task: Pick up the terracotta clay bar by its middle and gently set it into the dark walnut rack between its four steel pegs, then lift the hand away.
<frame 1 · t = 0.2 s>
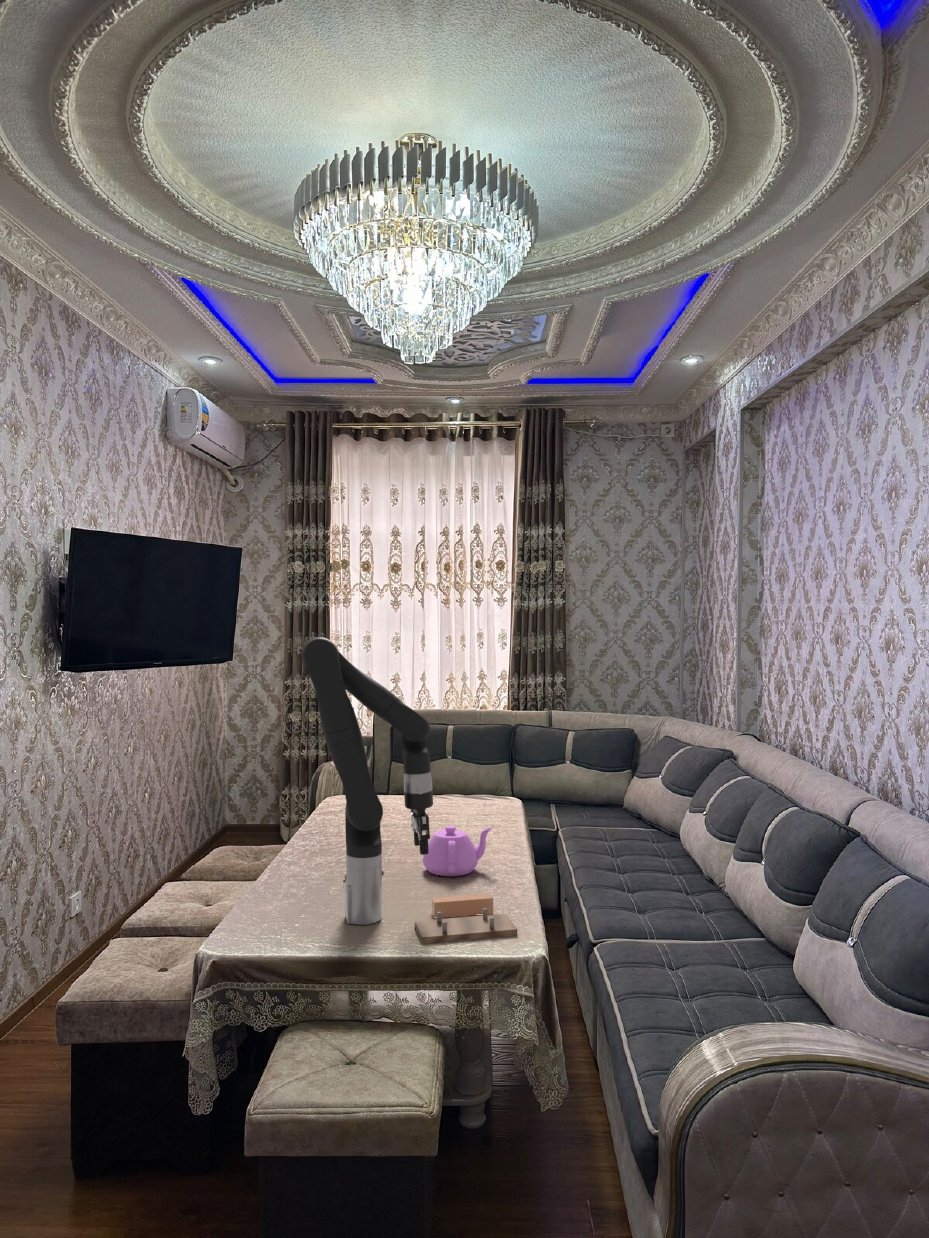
hand: (421, 849, 224), 17 cm above the table, tool pointing down, fingers open, 8 cm apart
wooden fragment: (364, 877, 257), on the table
rack: (465, 930, 213), on the table
clay strip: (462, 914, 225), on the table
teapot: (457, 871, 263), on the table
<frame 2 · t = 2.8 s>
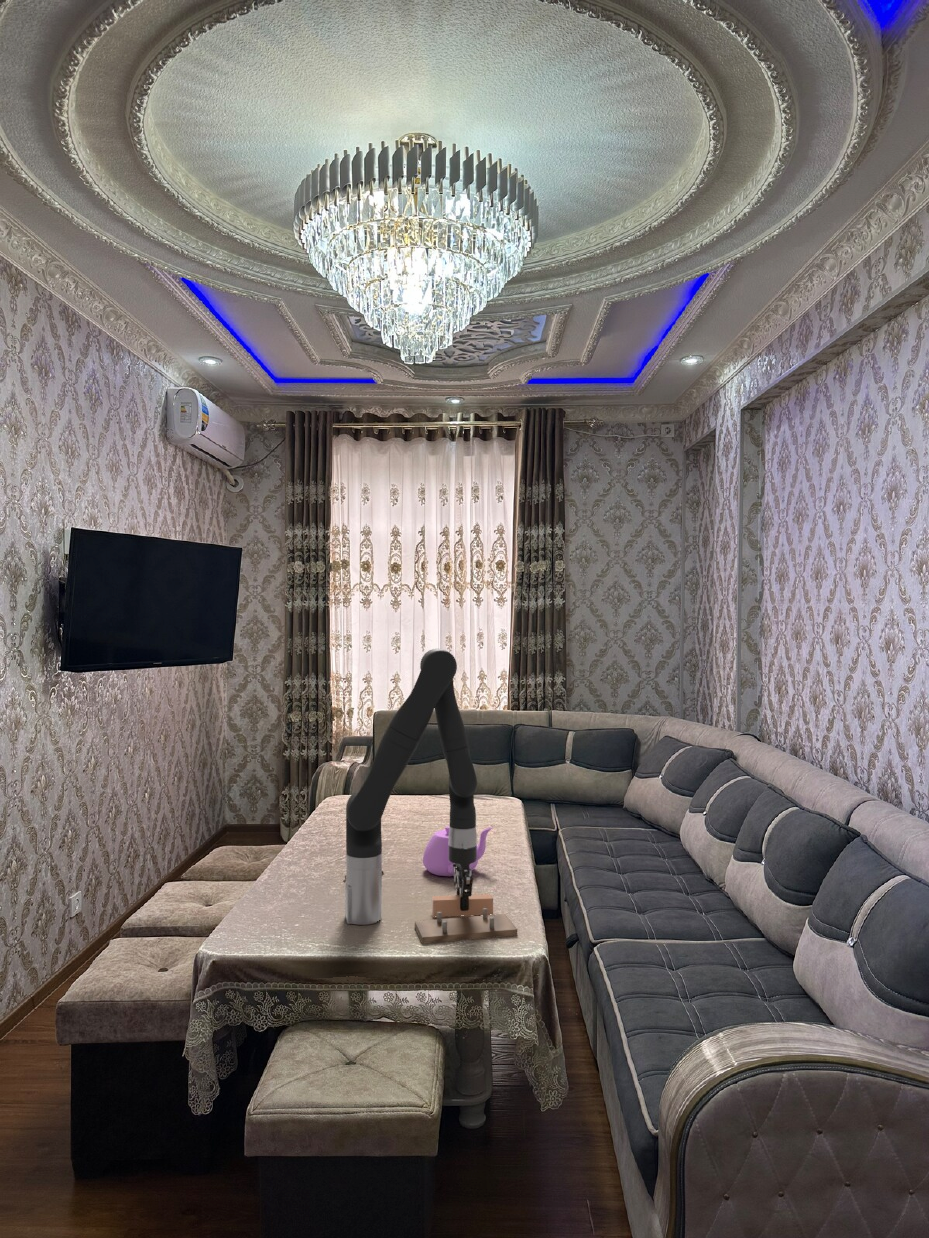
hand: (462, 907, 225), 2 cm above the table, tool pointing down, fingers closed on clay strip, 3 cm apart
clay strip: (462, 913, 225), on the table, touching gripper
everything else where it was.
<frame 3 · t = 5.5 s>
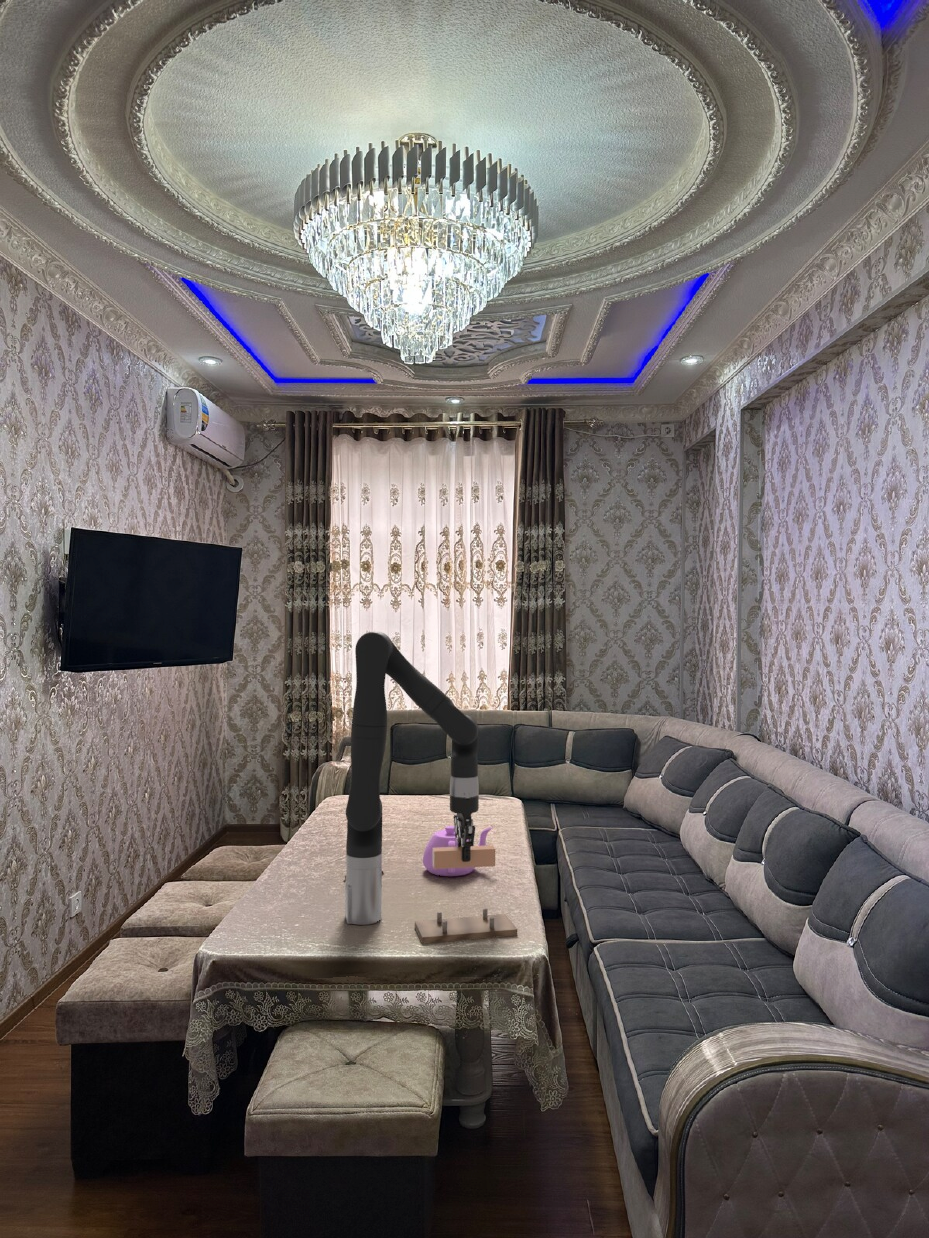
hand: (464, 858, 220), 16 cm above the table, tool pointing down, fingers closed on clay strip, 3 cm apart
clay strip: (463, 865, 220), point 14 cm above the table, touching gripper
everything else where it was.
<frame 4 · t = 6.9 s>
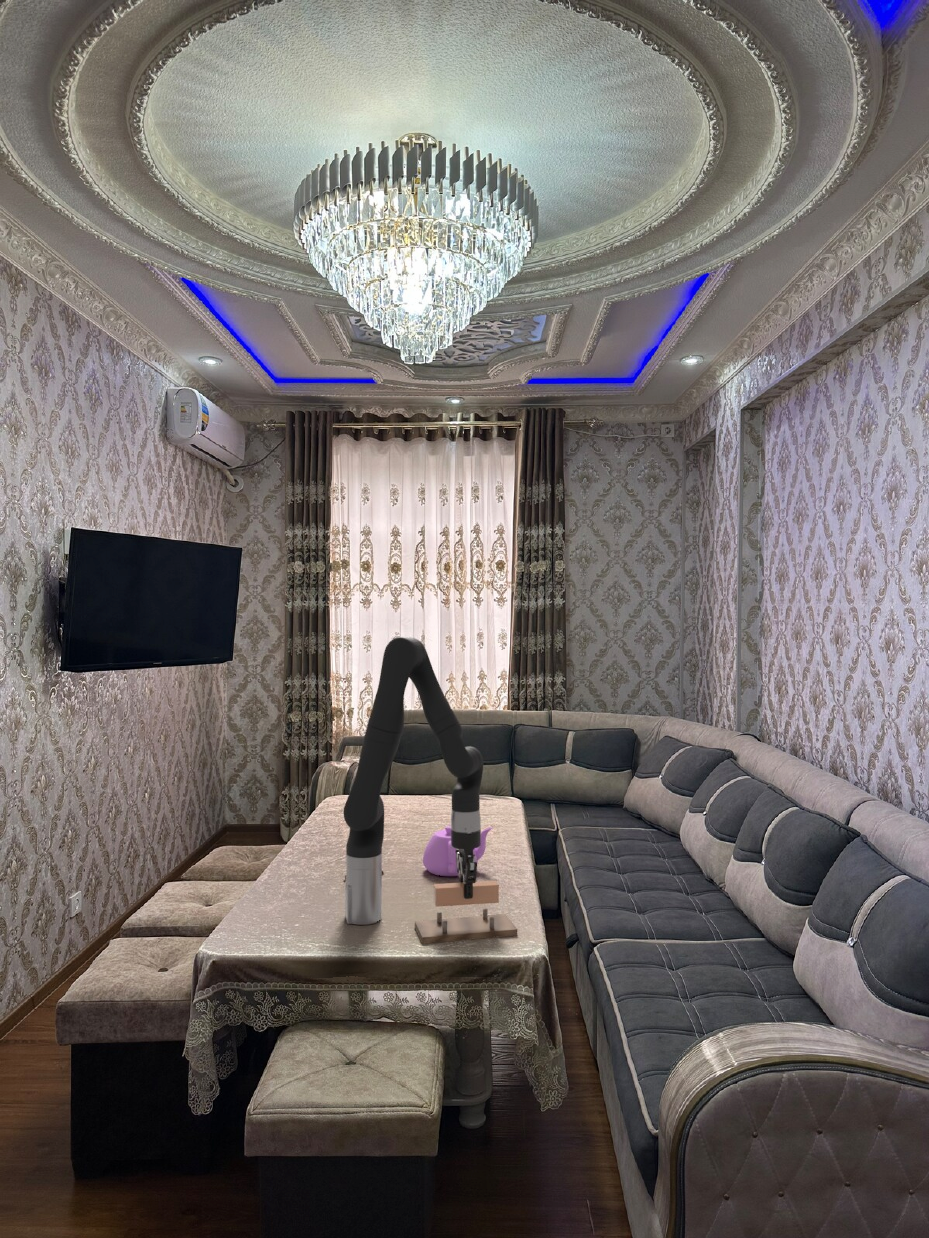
hand: (466, 895, 213), 9 cm above the table, tool pointing down, fingers closed on clay strip, 3 cm apart
clay strip: (466, 902, 213), point 7 cm above the table, touching gripper
everything else where it was.
when the fingers open (5 cm above the table, at t = 8.1 s): clay strip drops 1 cm, resting on rack.
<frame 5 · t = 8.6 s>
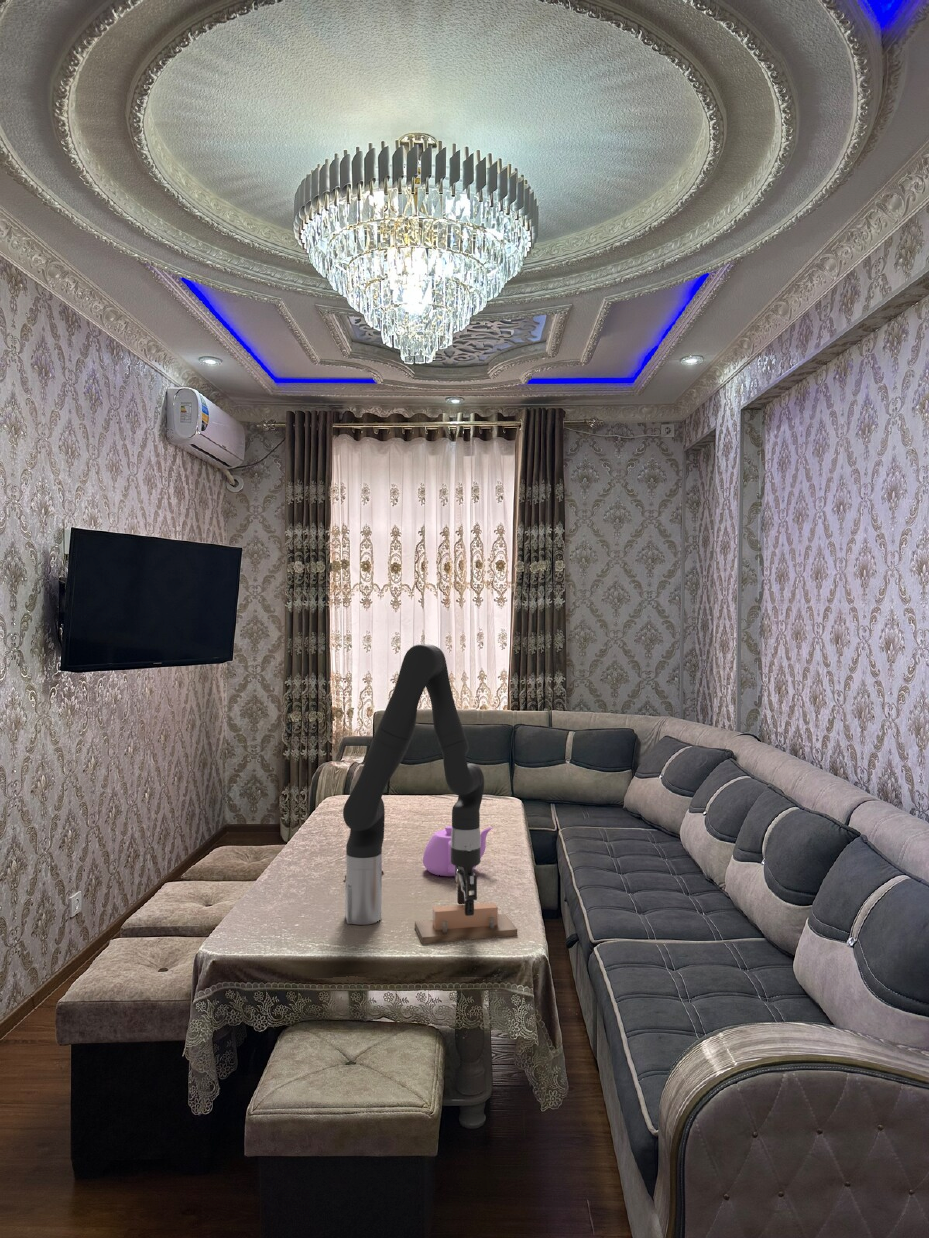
hand: (465, 909, 213), 6 cm above the table, tool pointing down, fingers open, 8 cm apart
clay strip: (465, 924, 213), point 1 cm above the table, touching rack
everything else where it was.
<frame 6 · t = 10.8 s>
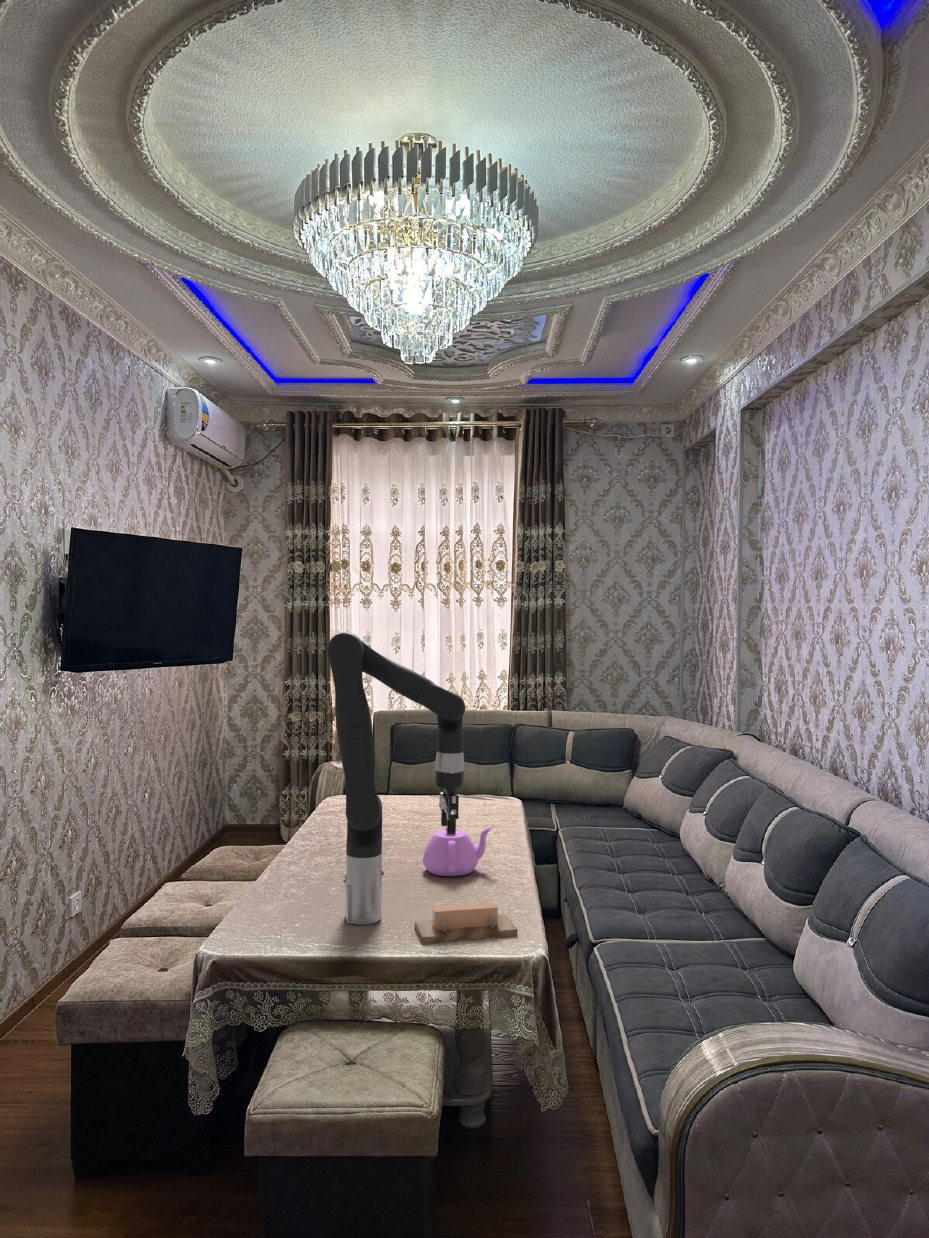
hand: (448, 829, 223), 23 cm above the table, tool pointing down, fingers open, 8 cm apart
nothing on the table moved.
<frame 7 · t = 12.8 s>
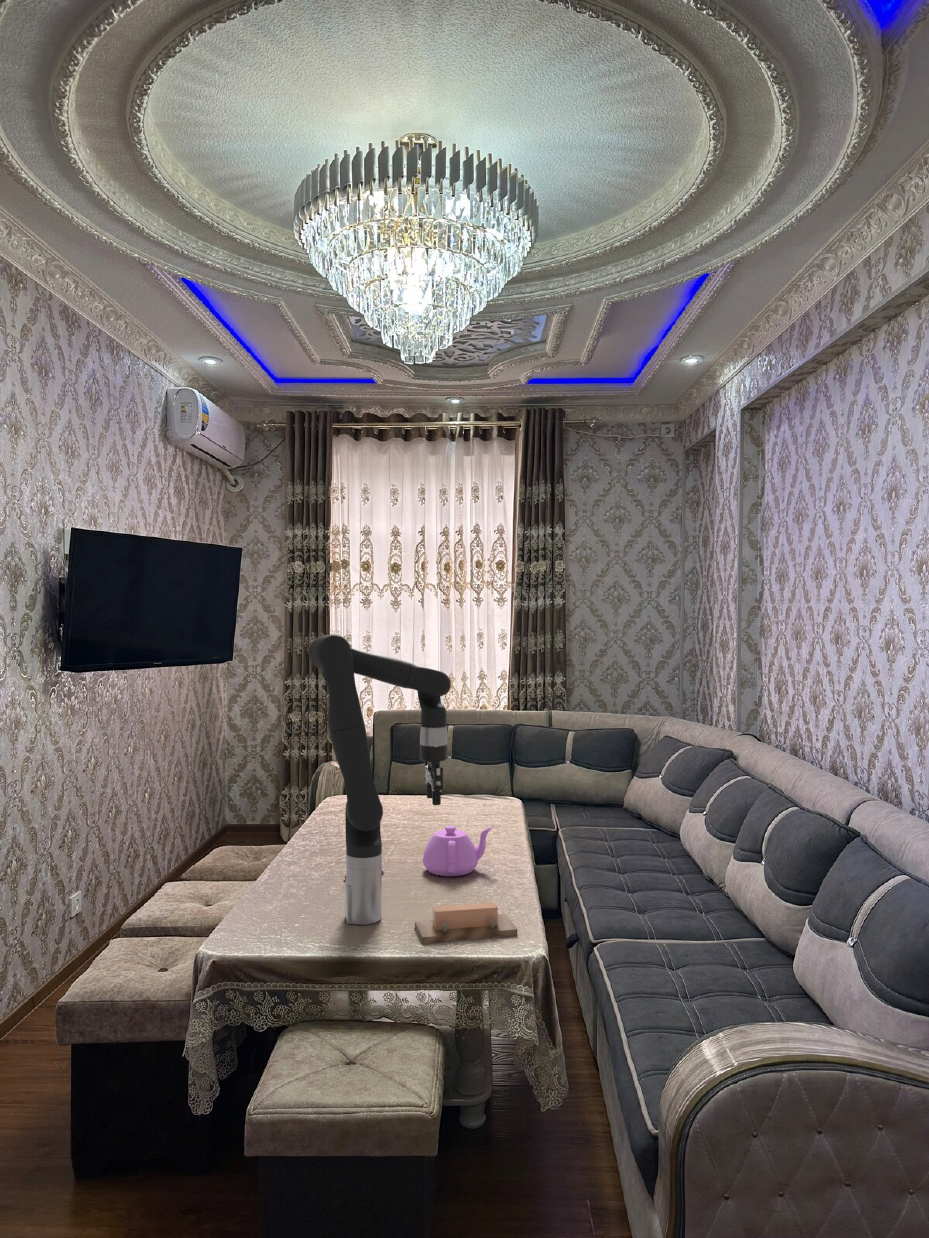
hand: (433, 801, 233), 28 cm above the table, tool pointing down, fingers open, 8 cm apart
nothing on the table moved.
at the end: clay strip 0.1 cm off-centre on the rack, point 1.5 cm above the rack's base; clay strip tilted 0°; the gripper is holding nothing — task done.
